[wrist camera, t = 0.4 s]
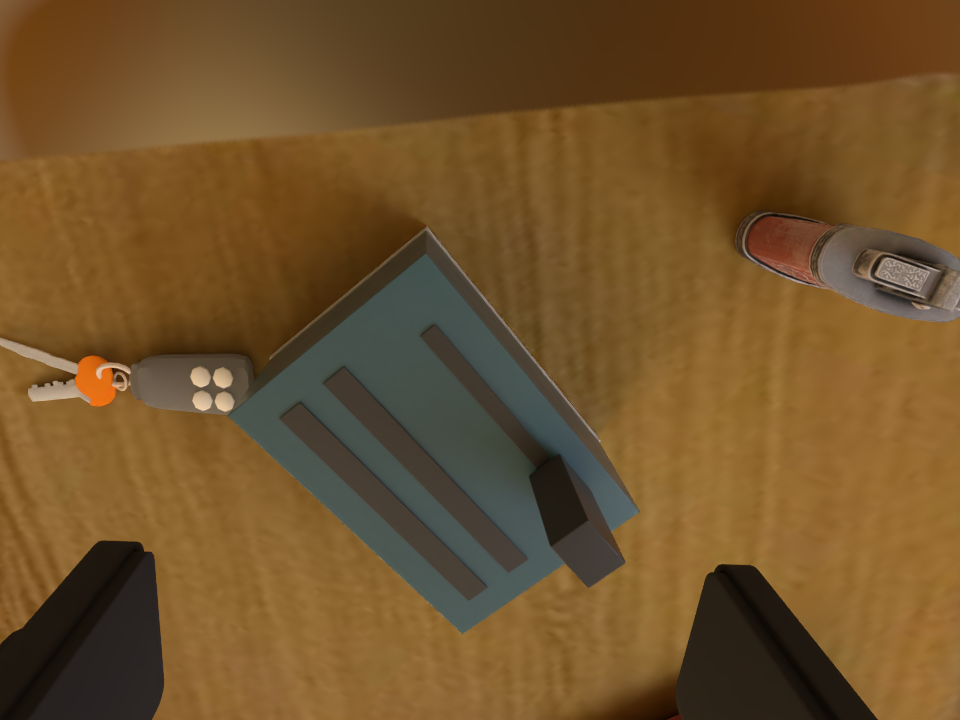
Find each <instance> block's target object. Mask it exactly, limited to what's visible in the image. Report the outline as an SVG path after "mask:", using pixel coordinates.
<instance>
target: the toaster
mask: <svg viewBox="0 0 960 720" xmlns="http://www.w3.org/2000/svg"><path fill="white" fill-rule="evenodd" d="M269 359H270V361H269V362H268V363H267V365H266V366H265V367H264V369H263V370H262V371H261V373H260V374H259V375H258V377H257V378H256V379H255V380H254V382H253V383H252V384H251V386H250V387H249V388H248V390H247V391H246V392H245V393H244V395H243V396H242V397H241V399H240V400H239V401H238V403H237V404H236V405H235V407H234V408H233V409H232V410H231V412H230V413H229V414H228V417H229V418H230V419H231V420H233V421H234V422H235V423H236V424H237V425H238V426H239V427H240V428H241V429H242V430H243V431H244V432H245V433H246V434H248V435H249V436H250V437H251V438H252V439H253V440H254V441H255V442H256V443H257V444H258V445H259V446H260V447H262V448H263V449H264V450H265V451H266V452H267V453H268V454H269V455H270V456H271V457H272V458H273V459H274V460H276V461H277V462H278V463H279V464H280V465H281V466H282V467H283V468H284V469H285V470H286V471H287V472H288V473H290V474H291V475H292V476H293V477H294V478H295V479H296V480H297V481H298V482H299V483H300V484H301V485H302V486H304V487H305V488H306V489H307V490H308V491H309V492H310V493H311V494H312V495H313V496H314V497H315V498H316V499H318V500H319V501H320V502H321V503H322V504H323V505H324V506H325V507H326V508H327V509H328V510H329V511H330V512H332V513H333V514H334V515H335V516H336V517H337V518H338V519H339V520H340V521H341V522H342V523H343V524H344V525H346V526H347V527H348V528H349V529H350V530H351V531H352V532H353V533H354V534H355V535H356V536H357V537H358V538H360V539H361V540H362V541H363V542H364V543H365V544H366V545H367V546H368V547H369V548H370V549H371V550H372V551H374V552H375V553H376V554H377V555H378V556H379V557H380V558H381V559H382V560H383V561H384V562H385V563H386V564H387V565H389V566H390V567H391V568H392V569H393V570H394V571H395V572H396V573H397V574H398V575H399V576H400V577H401V578H403V579H404V580H405V581H406V582H407V583H408V584H409V585H410V586H411V587H412V588H413V589H414V590H415V591H417V592H418V593H419V594H420V595H421V596H422V597H423V598H424V599H425V600H426V601H427V602H428V603H429V604H431V605H432V606H433V607H434V608H435V609H436V610H437V611H438V612H439V613H440V614H441V615H442V616H443V617H445V618H446V619H447V620H448V621H449V622H450V623H451V624H452V625H453V626H454V627H455V628H456V629H457V630H459V631H460V632H461V633H462V634H463V633H465V632H466V631H468V630H469V629H471V628H472V627H474V626H475V625H476V624H478V623H479V622H481V621H482V620H484V619H485V618H487V617H488V616H489V615H491V614H492V613H494V612H495V611H497V610H498V609H500V608H501V607H502V606H504V605H505V604H507V603H508V602H510V601H511V600H513V599H514V598H515V597H517V596H518V595H520V594H521V593H523V592H524V591H526V590H527V589H529V588H530V587H531V586H533V585H534V584H536V583H537V582H539V581H540V580H542V579H543V578H544V577H546V576H547V575H549V574H550V573H552V572H553V571H555V570H556V569H557V568H559V567H560V566H562V565H563V564H565V562H564V561H563V560H562V559H561V558H560V557H559V556H558V555H557V554H556V553H555V552H554V551H553V549H552V548H551V547H550V545H549V541H548V538H547V535H546V532H545V528H544V525H543V522H542V519H541V515H540V512H539V509H538V506H537V502H536V499H535V496H534V492H533V489H532V486H531V483H530V479H529V475H530V474H532V473H533V472H535V471H536V470H537V469H539V468H540V467H541V466H543V465H544V464H546V463H547V462H548V461H550V460H551V459H552V458H554V457H555V456H557V455H558V454H561V456H562V457H563V458H564V459H565V460H566V461H567V463H568V464H569V465H570V466H571V467H572V468H573V470H574V471H575V472H576V473H577V474H578V476H579V477H580V478H581V479H582V480H583V481H584V483H585V484H586V485H587V486H588V487H589V488H590V490H591V491H592V493H593V495H594V497H595V500H596V502H597V504H598V506H599V508H600V510H601V512H602V514H603V516H604V518H605V520H606V522H607V525H608V527H609V529H610V531H613V530H614V529H615V528H617V527H618V526H620V525H621V524H623V523H624V522H626V521H627V520H628V519H630V518H631V517H633V516H634V515H636V514H637V513H639V509H638V508H637V506H636V504H635V502H634V501H633V499H632V497H631V496H630V494H629V492H628V491H627V489H626V487H625V485H624V484H623V482H622V480H621V479H620V477H619V475H618V473H617V472H616V470H615V468H614V467H613V465H612V463H611V462H610V460H609V458H608V456H607V455H606V453H605V451H604V450H603V448H602V446H601V444H600V443H599V442H600V439H599V437H598V436H597V435H596V434H595V432H594V431H593V430H592V429H591V427H590V426H589V425H588V424H587V422H586V421H585V420H584V419H583V418H582V416H581V415H580V414H579V413H578V411H577V410H576V409H575V408H574V406H573V405H572V404H571V403H570V401H569V400H568V399H567V398H566V397H565V395H564V394H563V393H562V392H561V390H560V389H559V388H558V387H557V385H556V384H555V383H554V382H553V381H552V379H551V378H550V377H549V376H548V374H547V373H546V372H545V371H544V369H543V368H542V367H541V366H540V365H539V363H538V362H537V361H536V360H535V358H534V357H533V356H532V355H531V353H530V352H529V351H528V350H527V349H526V347H525V346H524V345H523V344H522V342H521V341H520V340H519V339H518V337H517V336H516V335H515V334H514V332H513V331H512V330H511V329H510V328H509V326H508V325H507V324H506V323H505V321H504V320H503V319H502V318H501V316H500V315H499V314H498V313H497V312H496V310H495V309H494V308H493V307H492V305H491V304H490V303H489V302H488V300H487V299H486V298H485V297H484V296H483V294H482V293H481V292H480V291H479V289H478V288H477V287H476V286H475V284H474V283H473V282H472V281H471V280H470V278H469V277H468V276H467V275H466V273H465V272H464V271H463V270H462V268H461V267H460V266H459V265H458V263H457V262H456V261H455V260H454V259H453V257H452V256H451V255H450V254H449V252H448V251H447V250H446V249H445V247H444V246H443V245H442V244H441V243H440V241H439V240H438V239H437V238H436V236H435V235H434V234H433V233H432V231H431V230H430V229H429V228H428V227H427V226H426V227H425V228H424V229H423V230H421V231H420V232H419V233H418V234H416V235H415V236H414V237H413V238H412V239H410V240H409V241H408V242H407V243H406V244H404V245H403V246H402V247H401V248H400V249H398V250H397V251H396V252H395V253H394V254H392V255H391V256H390V257H389V258H388V259H386V260H385V261H384V262H383V263H381V264H380V265H379V266H378V267H377V268H375V269H374V270H373V271H372V272H371V273H369V274H368V275H367V276H366V277H365V278H363V279H362V280H361V281H360V282H359V283H357V284H356V285H355V286H354V287H353V288H351V289H350V290H349V291H348V292H347V293H345V294H344V295H343V296H342V297H340V298H339V299H338V300H337V301H336V302H334V303H333V304H332V305H331V306H330V307H328V308H327V309H326V310H325V311H324V312H322V313H321V314H320V315H319V316H318V317H316V318H315V319H314V320H313V321H312V322H310V323H309V324H308V325H307V326H305V327H304V328H303V329H302V330H301V331H299V332H298V333H297V334H296V335H295V336H293V337H292V338H291V339H290V340H289V341H287V342H286V343H285V344H284V345H283V346H281V347H280V348H279V349H278V350H277V351H275V352H274V353H273V354H272V355H271V356H270V357H269Z"/></svg>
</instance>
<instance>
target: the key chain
mask: <svg viewBox="0 0 960 720" xmlns="http://www.w3.org/2000/svg"><path fill="white" fill-rule="evenodd" d="M0 346H3V347H5V348H7V349H10V350H12V351H14V352H17V353H19V355H22V356H24V357H27V358H32V359H35V360H38V361H41V362H43V363H46V365H49V366H51V367H54V368H59V369H62V370H65V371H68V372H70V373H73V374H76V377H75V379H70V381H67V382H66V384H63V382H58V381H53V385H54V386H51V385H50V383H45V386H44V387H38V386H37V384H35V385H32V388H28V396H29V397H30V398H31V400H32V401H33V402H34V401H44V400H54V399H64V398H75V397H81V398H82V399H84V400H85V401H87V402H89V403H90V405H92V406H100V407H101V406H103V405H106V404H109V403H111V402H112V400H113V399H114V398H115V396H116V388H117V389H118V390H120V391H124V390H125V389H126V388H127V386H129V385H130V387H131V392H132V394H133V395H134V397H135V398H136V399H142V401H143V402H144V403H145V404H146V405H147V406H150V407H154V408H158V409H166V410H176V411H187V412H197V413H208V414H220V415H228V414H229V413H230V412H231V410H232V409H233V408H234V407H235V405H236V404H237V403H238V401H239V400H240V399H241V397H242V396H243V395H244V393H245V392H246V391H247V390H248V388H249V387H250V386H251V384H252V383H253V382H254V372H253V364H252V362H251V361H250V359H249V357H248V356H243V355H239V354H173V355H155V356H149V357H146V358H144V359H143V360H142V361H141V362H135V363H133V364H132V365H131V367H130V368H129V367H127V366H126V365H123V364H120V363H111V362H109V363H108V362H107V361H106V360H105V359H103V358H102V357H100V356H95V355H91V356H87V357H84V358H83V359H82V360H81V361H80V362H79V363H78V364H77V363H74V362H71V361H69V360H66V359H63V358H61V357H59V358H58V357H55V356H53V355H50V353H47V352H44V351H42V350H39V349H36V348H34V347H33V348H31V347H28V346H25V345H23V344H20V343H16V342H13V341H10V340H7V339H3V338H0ZM111 368H118V369H121V370H124V371H125V372H127V373H128V374H129V379H130V380H127V378H126V376H125V375H124V374H123V373H121V372H116V373H115V374H114V375H113V372H112V369H111ZM117 375H121V376H122V377H123V379H124V382H116V377H117ZM120 387H124V388H120Z"/></svg>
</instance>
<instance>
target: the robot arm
mask: <svg viewBox="0 0 960 720" xmlns="http://www.w3.org/2000/svg"><path fill="white" fill-rule="evenodd" d="M163 688H164V673H163V660H162V647H161V635H160V622H159V610H158V597H157V585H156V572H155V560H154V555H153V553H152V552H144V548H143V546H142V544H141V543H139V542H128V541H99V542H98V543H96V544H95V545H94V546H93V547H92V548H91V550H90V551H89V552H88V553H87V554H86V555H85V556H84V558H83V559H82V560H81V561H80V562H79V563H78V565H77V566H76V567H75V568H74V569H73V570H72V571H71V573H70V574H69V575H68V576H67V577H66V578H65V580H64V581H63V582H62V583H61V584H60V585H59V586H58V588H57V589H56V590H55V591H54V592H53V593H52V595H51V596H50V597H49V598H48V599H47V600H46V601H45V603H44V604H43V605H42V606H41V607H40V608H39V610H38V611H37V612H36V613H35V614H34V615H33V616H32V618H31V619H30V620H29V621H28V622H27V623H26V625H25V626H24V627H23V628H22V629H20V630H17V631H15V632H13V633H12V634H11V635H10V636H9V637H7V638H6V639H5V640H4V641H3V642H2V643H1V644H0V720H152V718H153V716H154V714H155V712H156V710H157V708H158V706H159V703H160V700H161V697H162V693H163ZM675 697H676V704H677V708H678V711H679V714H680V716H681V718H682V720H878V719H877V718H876V717H875V716H874V714H873V713H872V712H871V711H870V709H869V708H868V707H867V706H866V704H865V703H864V702H863V701H862V699H861V698H860V697H859V696H858V694H857V693H856V692H855V691H854V689H853V688H852V687H851V686H850V684H849V683H848V682H847V681H846V679H845V678H844V677H843V676H842V674H841V673H840V672H839V671H838V669H837V668H836V667H835V666H834V664H833V663H832V662H831V661H830V659H829V658H828V657H827V656H826V654H825V653H824V652H823V651H822V649H821V648H820V647H819V646H818V644H817V643H816V642H815V641H814V639H813V638H812V637H811V636H810V634H809V633H808V632H807V631H806V629H805V628H804V627H803V626H802V624H801V623H800V622H799V621H798V619H797V618H796V617H795V615H794V614H793V613H792V612H791V610H790V609H789V608H788V607H787V605H786V604H785V603H784V602H783V600H782V599H781V598H780V597H779V595H778V594H777V593H776V592H775V590H774V589H773V588H772V587H771V585H770V584H769V583H768V582H767V580H766V579H765V578H764V577H763V575H762V574H761V573H760V572H759V571H758V570H757V569H756V568H755V567H754V566H751V565H728V564H721V565H718V566H717V567H716V569H715V571H714V572H711V573H709V574H708V575H707V576H706V579H705V582H704V586H703V589H702V593H701V597H700V600H699V604H698V608H697V611H696V615H695V619H694V623H693V626H692V630H691V634H690V637H689V641H688V645H687V648H686V652H685V656H684V659H683V663H682V667H681V670H680V674H679V678H678V681H677V685H676V690H675Z"/></svg>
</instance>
